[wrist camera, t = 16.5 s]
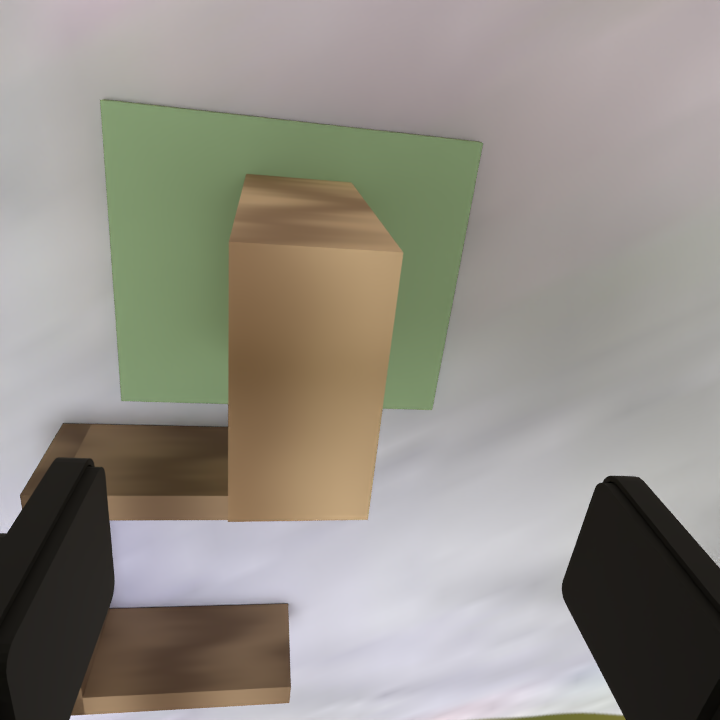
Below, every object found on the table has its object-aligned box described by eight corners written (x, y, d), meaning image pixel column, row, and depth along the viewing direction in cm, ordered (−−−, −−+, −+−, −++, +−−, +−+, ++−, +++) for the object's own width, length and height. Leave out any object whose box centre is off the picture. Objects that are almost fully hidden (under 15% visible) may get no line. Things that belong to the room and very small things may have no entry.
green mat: (478, 141, 23) (483, 143, 23) (428, 403, 28) (432, 409, 28) (104, 99, 21) (100, 100, 20) (124, 394, 26) (121, 400, 25)
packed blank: (351, 182, 23) (403, 252, 14) (334, 366, 26) (367, 519, 17) (246, 173, 22) (228, 241, 13) (243, 364, 25) (228, 521, 16)
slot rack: (302, 428, 28) (308, 496, 23) (286, 618, 33) (289, 702, 29) (62, 423, 26) (19, 495, 22) (87, 625, 31) (57, 716, 27)
